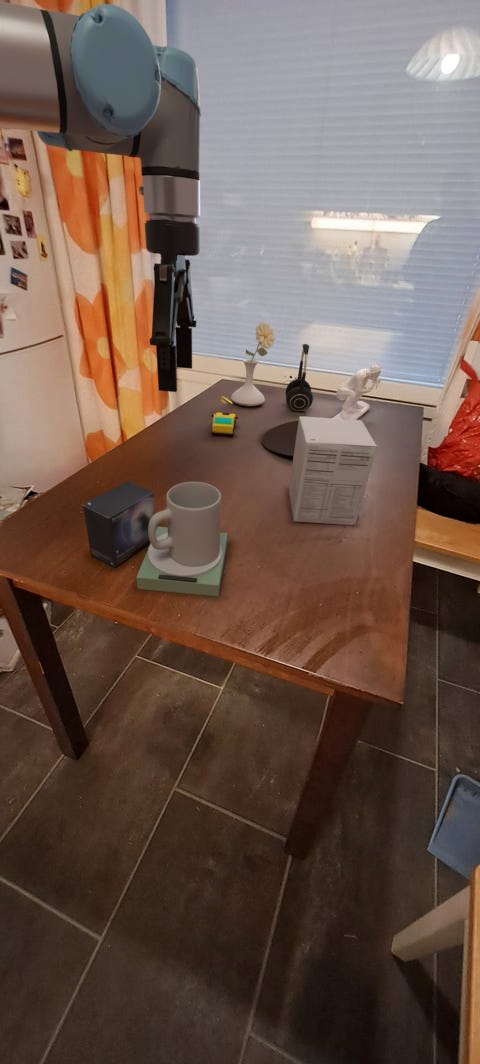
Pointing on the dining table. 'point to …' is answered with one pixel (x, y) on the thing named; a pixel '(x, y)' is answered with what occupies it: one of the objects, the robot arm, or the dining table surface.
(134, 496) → the small box
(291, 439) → the plate
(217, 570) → the scale
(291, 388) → the headphones
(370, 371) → the figurine
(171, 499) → the mug
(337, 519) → the supplement box
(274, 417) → the dining table surface
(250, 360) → the flower in vase
